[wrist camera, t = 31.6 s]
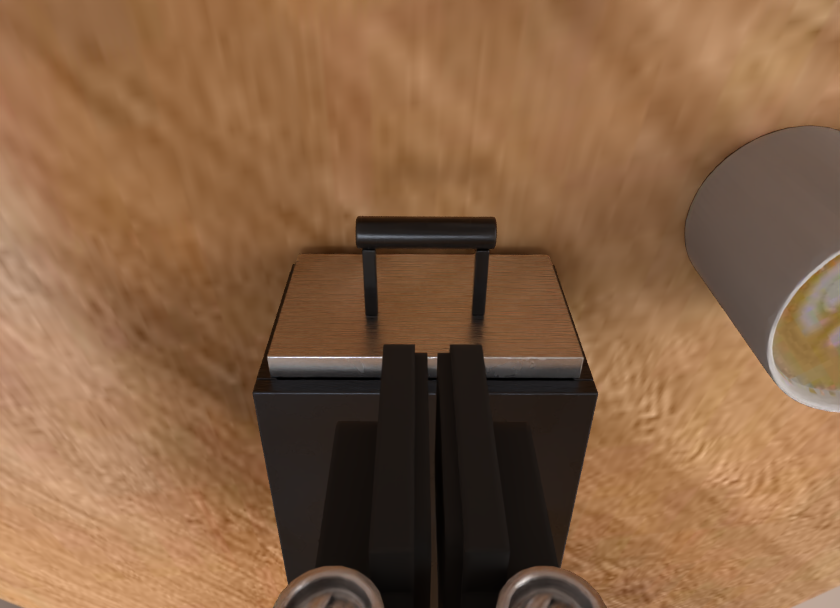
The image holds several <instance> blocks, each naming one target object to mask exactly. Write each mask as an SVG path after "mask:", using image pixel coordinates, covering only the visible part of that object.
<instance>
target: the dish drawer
mask: <svg viewBox="0 0 840 608" xmlns="http://www.w3.org/2000/svg"><path fill="white" fill-rule="evenodd" d="M496 238H497V225H496V219H495V217H402V216H358V217H357V219H356V245H357V248H359V249H362V254H299V255H298V258H297V261H296V264H295V268H294V271H293V274H292V277H291V281H290V284H289V287H288V290H287V294H286V297H285V300H284V303H283V307H282V310H281V313H280V316H279V320H278V323H277V326H276V329H275V333H274V336H273V339H272V342H271V346H270V349H269V352H268V356H267V360H268V366H269V372H270V377H285V378H298V379H297V380H370V378H381V370H382V356H383V345H384V344H415V353H427V354H428V378H437V353H449V347H450V344H481V345H482V348H483V355H484V362H485V369H486V377H487V380H552V379H551V378H580V375H581V370H582V365H583V359H584V357H583V354H582V351H581V348H580V345H579V342H578V339H577V336H576V333H575V330H574V328H573V325H572V322H571V319H570V316H569V313H568V310H567V307H566V304H565V301H564V298H563V295H562V292H561V289H560V286H559V283H558V280H557V277H556V274H555V272H554V269H553V266H552V263H551V260H550V257H549V255H489V253H490V250H489V249H494V248H495V246H496ZM376 249H475V255H467V254H376Z"/></svg>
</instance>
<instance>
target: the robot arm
mask: <svg viewBox="0 0 840 608" xmlns="http://www.w3.org/2000/svg"><path fill="white" fill-rule="evenodd" d="M434 484H435V520H436V556H437V592H438V608H607V607H606V605H605V604H604V602H603V600H602V598H601V597H600V595H599V593H598V592H597V591H596V590H595V589H594V588H593V587H592V586H591V585H590V584H589V583H588V582H587V581H586V580H584V579H583V578H581V577H579V576H577V575H576V574H574V573H572V572H571V571H568V570H565V569H561V568H559V566H558V561H557V556H556V551H555V546H554V541H553V537H552V532H551V527H550V522H549V517H548V512H547V507H546V502H545V497H544V492H543V487H542V482H541V477H540V472H539V467H538V462H537V457H536V452H535V447H534V442H533V437H532V433H531V429H530V425H529V423H528V422H493V421H492V413H491V406H490V399H489V391H488V384H487V377H486V369H485V362H484V355H483V348H482V345H481V344H450V347H449V353H437V383H436V420H435V456H434ZM430 591H431V495H430V447H429V399H428V354H427V353H415V344H384V345H383V356H382V370H381V384H380V398H379V412H378V421H338V422H337V424H336V429H335V435H334V442H333V449H332V456H331V462H330V469H329V476H328V483H327V490H326V497H325V504H324V510H323V517H322V524H321V531H320V538H319V545H318V552H317V558H316V565H315V569H313V570H309V571H307V572H305V573H304V574H302V575H300V576H299V577H297V578H295V579H294V580H293V581H292V582H291V583H290V584H289V585H288V586H287V587H286V588H285V589H284V590H283V591H282V592H281V593H280V595H279V597H278V599H277V601H276V603H275V605H274V607H273V608H430Z"/></svg>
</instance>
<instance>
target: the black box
mask: <svg viewBox="0 0 840 608" xmlns="http://www.w3.org/2000/svg"><path fill="white" fill-rule="evenodd" d="M552 266H553V269H554V272H555V274H556V277H557V280H558V283H559V286H560V289H561V292H562V295H563V298H564V301H565V304H566V307H567V310H568V313H569V316H570V319H571V322H572V325H573V328H574V330H575V333H576V336H577V339H578V342H579V345H580V348H581V351H582V354H583V357H584V359H583V365H582V370H581V375H580V378H551V379H552V380H487V384H488V391H489V399H490V406H491V413H492V421H493V422H528V423H529V425H530V429H531V433H532V437H533V442H534V447H535V452H536V457H537V462H538V467H539V472H540V477H541V482H542V487H543V492H544V497H545V502H546V507H547V512H548V517H549V522H550V527H551V532H552V537H553V541H554V546H555V551H556V556H557V561H558V566H559V568H561V564H562V559H563V554H564V550H565V545H566V540H567V536H568V531H569V526H570V522H571V517H572V513H573V508H574V503H575V499H576V494H577V489H578V485H579V480H580V475H581V471H582V466H583V462H584V457H585V452H586V448H587V443H588V438H589V434H590V429H591V424H592V420H593V415H594V411H595V406H596V401H597V397H598V392H597V389H596V386H595V383H594V381H593V377H592V374H591V371H590V369H589V366H588V363H587V360H586V357H585V354H584V351H583V348H582V345H581V342H580V339H579V337H578V334H577V331H576V328H575V325H574V322H573V319H572V316H571V313H570V310H569V307H568V305H567V302H566V299H565V296H564V293H563V290H562V287H561V284H560V281H559V278H558V275H557V272H556V269H555V266H554V265H552ZM294 268H295V264H293V265H292V268H291V271H290V274H289V277H288V280H287V284H286V287H285V290H284V293H283V296H282V300H281V303H280V306H279V309H278V312H277V315H276V319H275V322H274V325H273V328H272V331H271V335H270V338H269V341H268V344H267V347H266V350H265V354H264V357H263V360H262V363H261V366H260V370H259V373H258V376H257V380H256V383H255V386H254V390H253V399H254V404H255V409H256V415H257V420H258V425H259V431H260V436H261V442H262V447H263V452H264V458H265V463H266V468H267V474H268V479H269V485H270V490H271V495H272V501H273V506H274V512H275V517H276V522H277V528H278V533H279V538H280V544H281V549H282V555H283V560H284V565H285V571H286V576H287V581H288V585H289V584H290V583H291V582H292V581H293V580H294V579H295V578H297V577H299V576H300V575H302V574H304V573H305V572H307V571H309V570H313V569H315V565H316V558H317V552H318V545H319V538H320V531H321V524H322V517H323V510H324V504H325V497H326V490H327V483H328V476H329V469H330V462H331V456H332V449H333V442H334V435H335V429H336V424H337V422H338V421H378V412H379V398H380V384H381V380H297V379H298V378H285V377H270V372H269V366H268V360H267V356H268V352H269V349H270V346H271V342H272V339H273V336H274V333H275V329H276V326H277V323H278V320H279V316H280V313H281V310H282V307H283V303H284V300H285V297H286V294H287V290H288V287H289V284H290V281H291V277H292V274H293V271H294ZM436 383H437V380H428V399H429V447H430V495H431V591H430V608H438V592H437V556H436V520H435V484H434V456H435V420H436Z"/></svg>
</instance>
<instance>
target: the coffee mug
mask: <svg viewBox="0 0 840 608" xmlns="http://www.w3.org/2000/svg"><path fill="white" fill-rule="evenodd" d="M685 245H686V250H687V253H688V256H689V259H690V261H691V263H692V264H693V266H694V268H695V269H696V271H697V272H698V273H699V275H700V276H701V278H702V279H703V281H704V282H705V284H706V285H707V286H708V288H709V289H710V291H711V292H712V294H713V295H714V296H715V298H716V299H717V301H718V302H719V304H720V305H721V307H722V308H723V309H724V311H725V312H726V314H727V315H728V317H729V318H730V319H731V321H732V322H733V324H734V325H735V327H736V328H737V330H738V331H739V332H740V334H741V335H742V337H743V338H744V340H745V341H746V343H747V344H748V345H749V347H750V348H751V350H752V351H753V353H754V354H755V355H756V357H757V358H758V360H759V361H760V363H761V364H762V366H763V367H764V368H765V370H766V371H767V373H768V374H769V375H770V377H771V378H772V379H773V381H774V382H775V383H776V384H777V386H778V387H779V388H780V389H781V390H782V391H783V392H784V393H785V394H787V395H788V396H789V397H791V398H792V399H794V400H795V401H797V402H800V403H802V404H804V405H806V406H809V407H812V408H816V409H820V410H825V411H830V412H840V131H838V130H836V129H832V128H828V127H818V126H801V127H793V128H787V129H783V130H779V131H776V132H773V133H770V134H767V135H765V136H762V137H759V138H757V139H756V140H754V141H752V142H750V143H748V144H746V145H745V146H743V147H742V148H740V149H738V150H737V151H736V152H734V153H733V154H732V155H730V156H729V157H727V158H726V159H725V160H724V161H723V162H722V163H721V164H720V165H719V166H718V167H717V168H715V169H714V171H713V172H712V173H711V174H710V175H709V176H708V177H707V179H706V180H705V181H704V183H703V184H702V186H701V187H700V188H699V190H698V192H697V194H696V196H695V198H694V200H693V202H692V204H691V206H690V210H689V213H688V216H687V219H686V224H685Z"/></svg>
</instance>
